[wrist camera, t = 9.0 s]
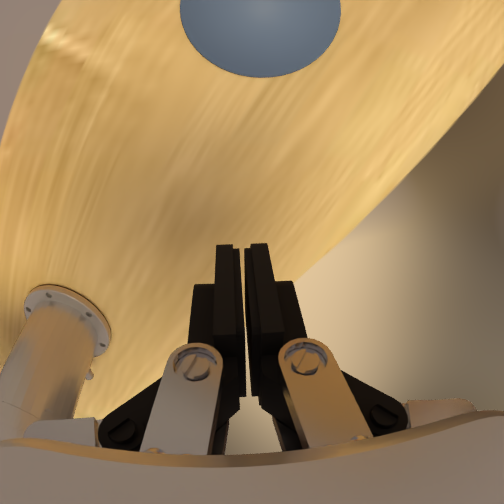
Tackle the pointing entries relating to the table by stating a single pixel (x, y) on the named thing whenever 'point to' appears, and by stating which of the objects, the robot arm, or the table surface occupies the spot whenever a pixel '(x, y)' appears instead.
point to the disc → (260, 33)
